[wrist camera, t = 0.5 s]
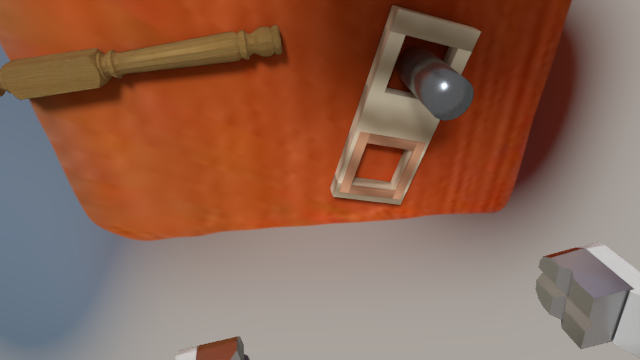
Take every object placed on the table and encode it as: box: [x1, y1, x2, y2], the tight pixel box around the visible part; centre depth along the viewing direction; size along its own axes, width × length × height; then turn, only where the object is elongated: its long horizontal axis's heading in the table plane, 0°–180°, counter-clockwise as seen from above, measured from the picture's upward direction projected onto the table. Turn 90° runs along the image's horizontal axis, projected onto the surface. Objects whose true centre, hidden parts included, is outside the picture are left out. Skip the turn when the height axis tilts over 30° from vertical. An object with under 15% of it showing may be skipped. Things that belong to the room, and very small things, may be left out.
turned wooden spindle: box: [0, 25, 282, 100], centre depth 39 cm, size 3×3×30 cm
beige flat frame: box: [330, 5, 481, 205], centre depth 48 cm, size 24×10×2 cm, turn 165°
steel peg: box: [396, 46, 474, 120], centre depth 42 cm, size 4×4×10 cm
